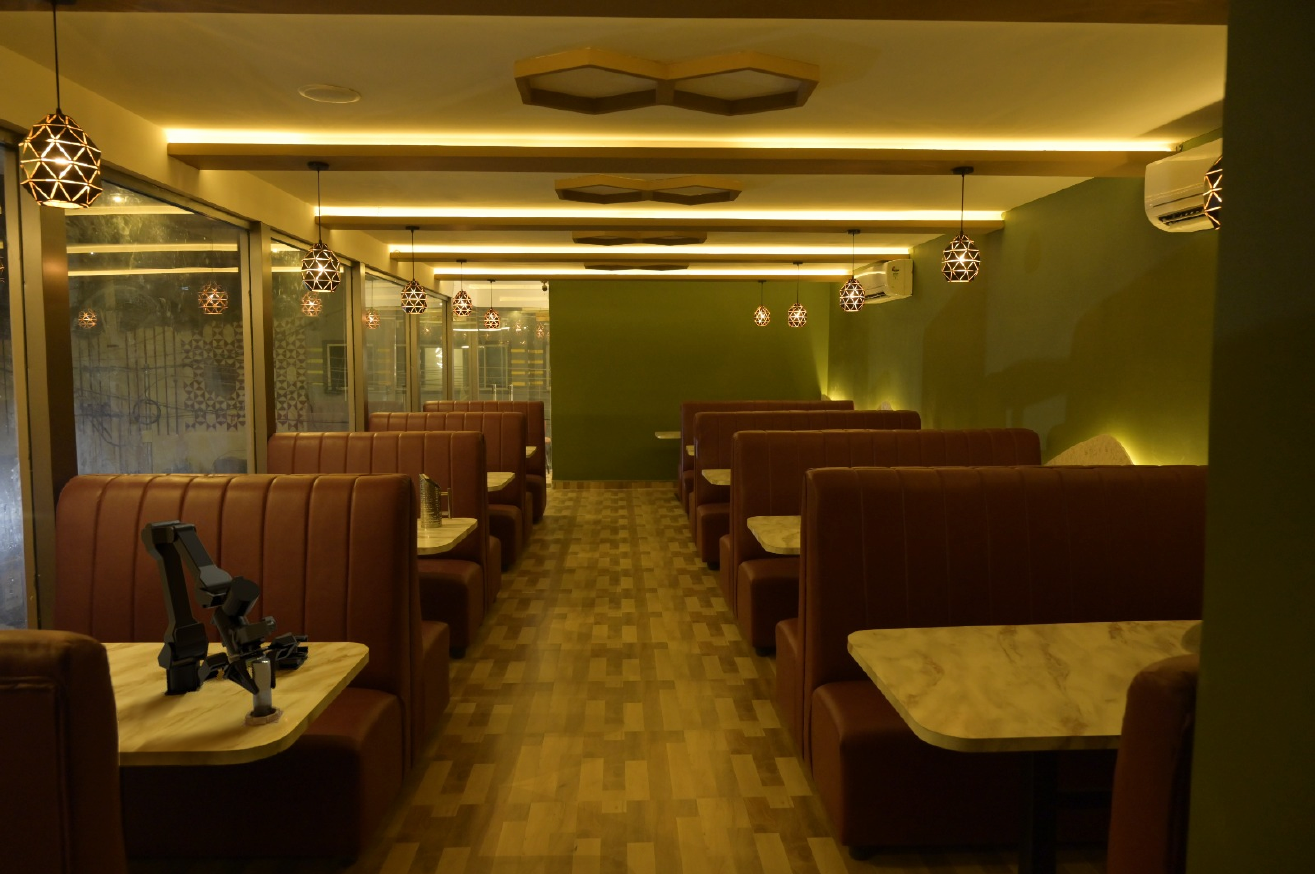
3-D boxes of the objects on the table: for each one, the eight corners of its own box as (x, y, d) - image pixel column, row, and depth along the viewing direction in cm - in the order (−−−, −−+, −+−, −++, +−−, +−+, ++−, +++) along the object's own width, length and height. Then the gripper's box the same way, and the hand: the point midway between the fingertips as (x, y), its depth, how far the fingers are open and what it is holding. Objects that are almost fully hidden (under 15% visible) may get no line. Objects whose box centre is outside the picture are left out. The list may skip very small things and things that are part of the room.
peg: (251, 722, 169) (249, 664, 168) (256, 715, 172) (253, 659, 171) (270, 720, 169) (268, 663, 169) (274, 713, 173) (271, 657, 172)
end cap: (280, 658, 211) (279, 632, 210) (309, 656, 212) (308, 631, 211) (266, 672, 201) (265, 644, 200) (296, 670, 202) (295, 643, 201)
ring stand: (241, 730, 167) (241, 720, 167) (249, 718, 173) (248, 707, 173) (277, 727, 168) (277, 716, 168) (284, 714, 175) (283, 704, 175)
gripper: (201, 617, 164) (233, 683, 158) (290, 596, 179) (321, 656, 173) (184, 649, 169) (214, 713, 163) (272, 626, 184) (302, 684, 178)
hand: (265, 690), depth 169 cm, fingers closed on peg, 3 cm apart
